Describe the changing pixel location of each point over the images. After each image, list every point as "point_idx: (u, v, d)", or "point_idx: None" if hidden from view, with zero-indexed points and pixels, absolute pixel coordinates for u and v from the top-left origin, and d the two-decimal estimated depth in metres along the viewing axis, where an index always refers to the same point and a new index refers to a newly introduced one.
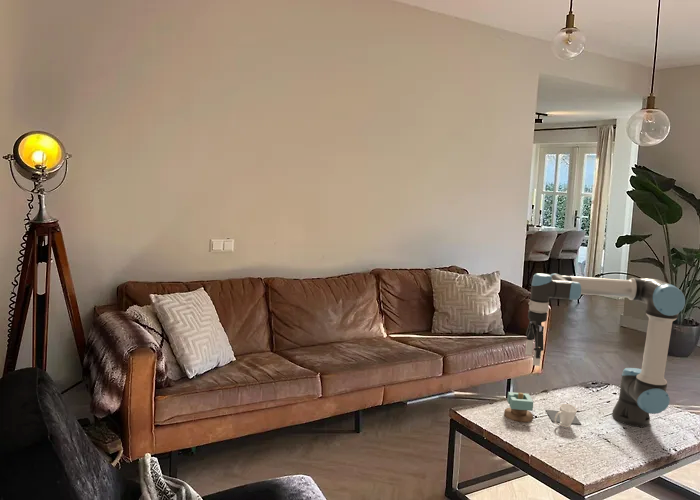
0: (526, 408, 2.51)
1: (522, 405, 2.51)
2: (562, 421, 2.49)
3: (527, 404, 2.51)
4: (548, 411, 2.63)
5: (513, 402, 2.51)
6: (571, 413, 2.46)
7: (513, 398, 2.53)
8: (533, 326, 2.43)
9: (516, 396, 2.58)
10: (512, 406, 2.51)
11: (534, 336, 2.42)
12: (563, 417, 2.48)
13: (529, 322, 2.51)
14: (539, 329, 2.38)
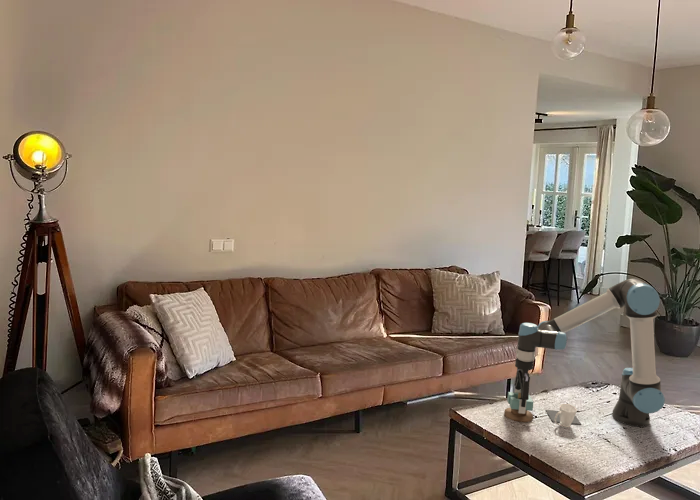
0: (526, 408, 2.51)
1: None
2: (562, 421, 2.49)
3: (527, 404, 2.51)
4: (548, 411, 2.63)
5: (513, 402, 2.51)
6: (571, 413, 2.46)
7: (513, 398, 2.53)
8: (520, 374, 2.52)
9: (516, 396, 2.58)
10: (512, 406, 2.51)
11: (520, 384, 2.51)
12: (563, 417, 2.48)
13: (517, 370, 2.60)
14: (525, 379, 2.47)
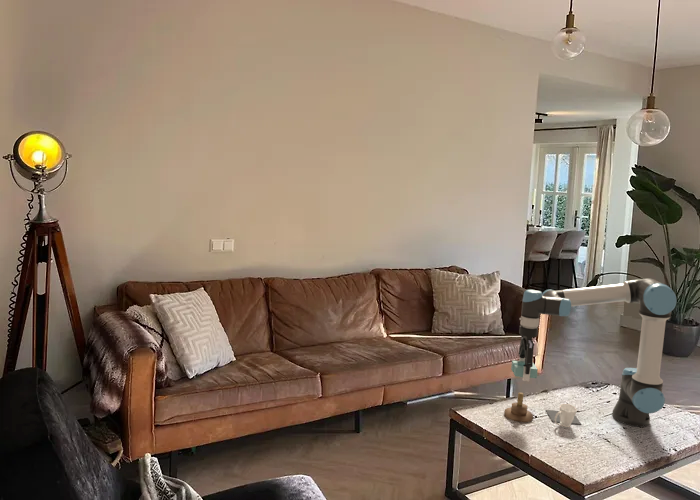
0: (530, 375, 2.49)
1: None
2: (562, 421, 2.49)
3: (531, 371, 2.48)
4: (548, 411, 2.63)
5: (517, 369, 2.49)
6: (571, 413, 2.46)
7: (517, 366, 2.51)
8: (524, 341, 2.49)
9: (520, 364, 2.56)
10: (516, 374, 2.49)
11: (524, 351, 2.49)
12: (563, 417, 2.48)
13: (521, 339, 2.58)
14: (529, 346, 2.45)
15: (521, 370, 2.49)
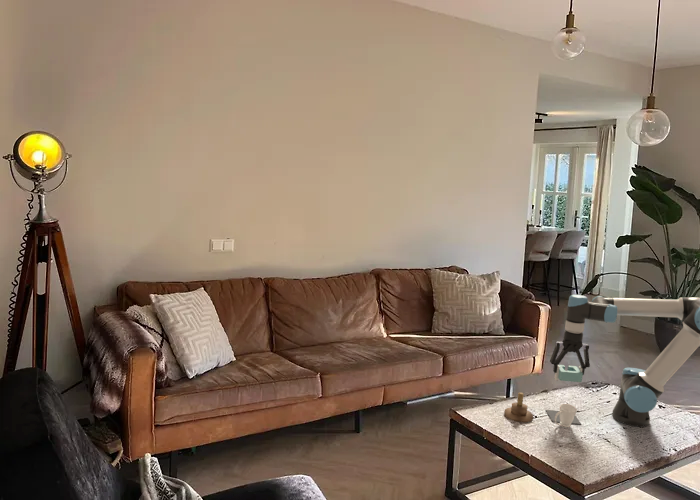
0: (558, 376, 2.54)
1: None
2: (562, 421, 2.49)
3: (559, 372, 2.53)
4: (548, 411, 2.63)
5: None
6: (571, 413, 2.46)
7: (560, 365, 2.59)
8: None
9: (573, 370, 2.56)
10: None
11: None
12: (563, 417, 2.48)
13: None
14: (555, 344, 2.54)
15: None
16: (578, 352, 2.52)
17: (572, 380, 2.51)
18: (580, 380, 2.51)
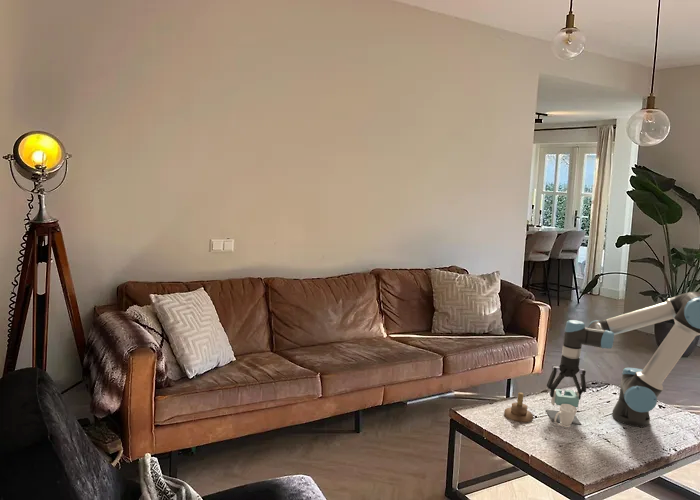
0: (555, 401, 2.56)
1: None
2: (562, 421, 2.49)
3: (556, 397, 2.55)
4: (548, 411, 2.63)
5: None
6: (571, 413, 2.46)
7: (557, 389, 2.60)
8: None
9: (570, 395, 2.58)
10: None
11: None
12: (563, 417, 2.48)
13: None
14: (552, 369, 2.56)
15: None
16: (575, 377, 2.54)
17: None
18: (576, 405, 2.52)
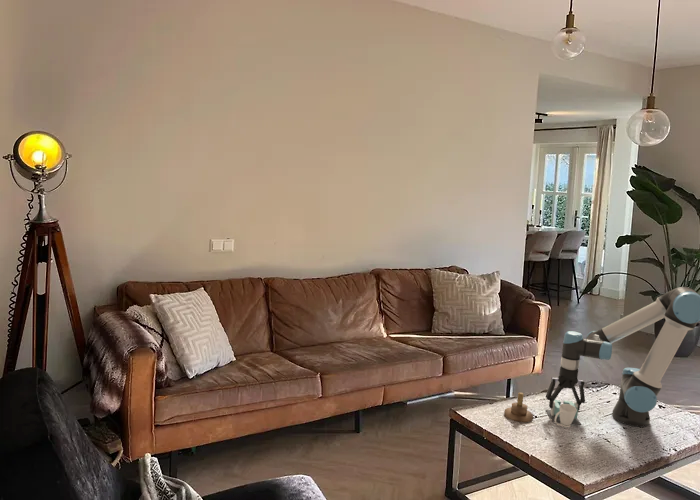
0: (554, 412, 2.56)
1: None
2: (562, 421, 2.49)
3: (555, 408, 2.56)
4: (548, 411, 2.63)
5: None
6: (571, 413, 2.46)
7: (556, 400, 2.61)
8: None
9: None
10: None
11: None
12: (563, 417, 2.48)
13: None
14: (551, 380, 2.57)
15: None
16: (573, 388, 2.54)
17: None
18: (575, 416, 2.53)
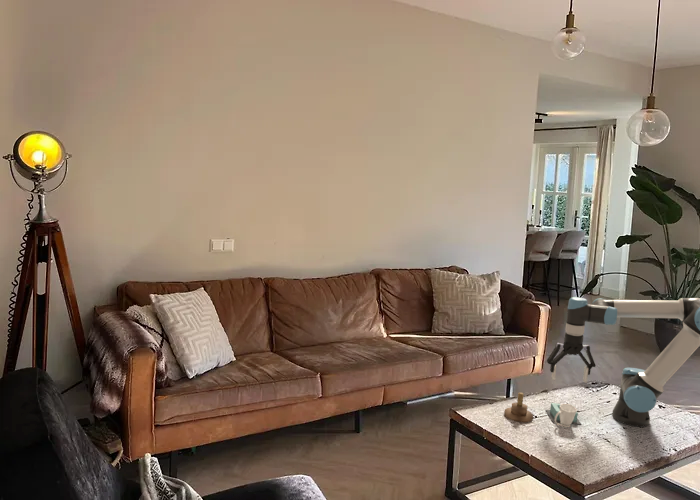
0: (554, 415, 2.56)
1: (553, 411, 2.58)
2: (562, 421, 2.49)
3: (554, 412, 2.56)
4: (548, 411, 2.63)
5: (551, 405, 2.62)
6: (571, 413, 2.46)
7: (555, 404, 2.61)
8: None
9: None
10: (550, 409, 2.62)
11: None
12: (563, 417, 2.48)
13: None
14: (556, 345, 2.54)
15: (552, 407, 2.60)
16: (580, 354, 2.52)
17: None
18: (575, 420, 2.53)
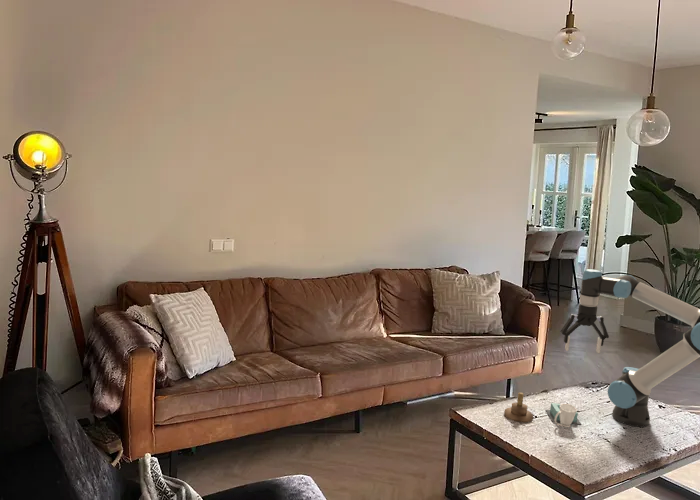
0: (554, 415, 2.56)
1: (553, 411, 2.58)
2: (562, 421, 2.49)
3: (554, 412, 2.56)
4: (548, 411, 2.63)
5: (551, 405, 2.62)
6: (571, 413, 2.46)
7: (555, 404, 2.61)
8: None
9: None
10: (550, 409, 2.62)
11: None
12: (563, 417, 2.48)
13: None
14: (570, 316, 2.59)
15: (552, 407, 2.60)
16: (594, 325, 2.57)
17: None
18: (575, 420, 2.53)
